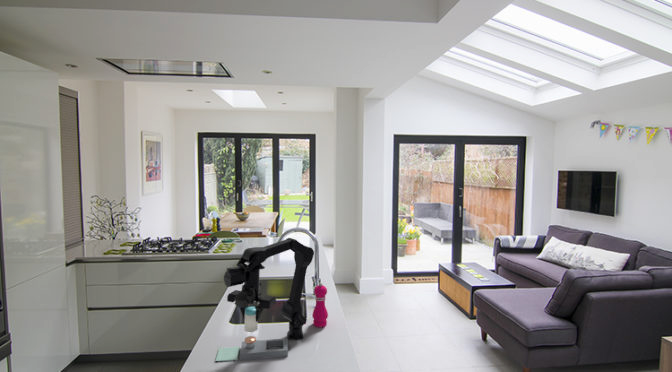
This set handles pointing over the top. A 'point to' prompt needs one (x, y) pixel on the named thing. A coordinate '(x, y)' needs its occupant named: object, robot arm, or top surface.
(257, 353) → the housing
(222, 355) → the mat
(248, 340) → the plunger
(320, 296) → the pepper mill
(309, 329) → the top surface
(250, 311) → the cylinder
